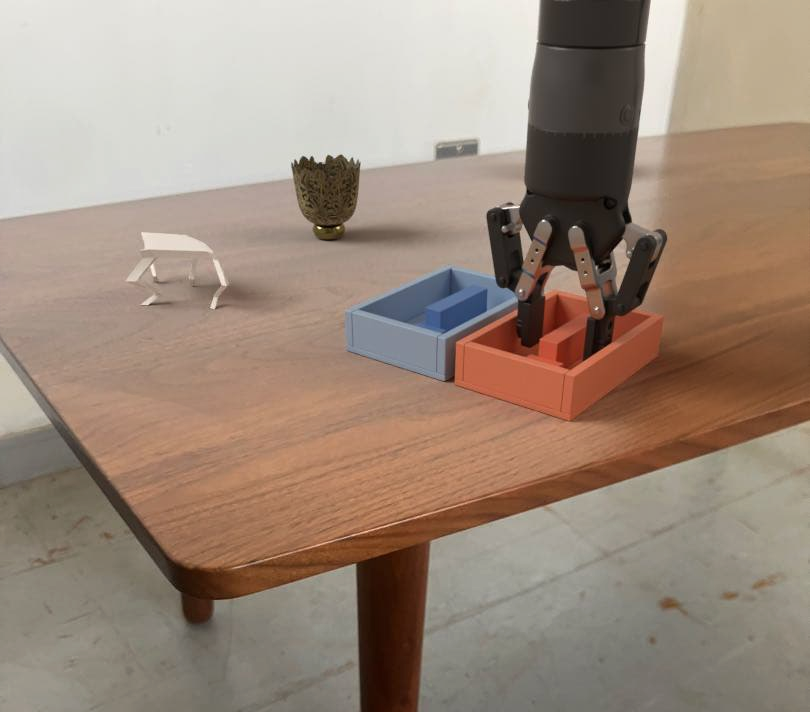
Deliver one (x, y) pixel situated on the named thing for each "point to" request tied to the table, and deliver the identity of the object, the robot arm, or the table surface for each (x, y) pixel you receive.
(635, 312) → the coral bin
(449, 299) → the blue stepped bar
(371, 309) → the blue bin
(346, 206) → the cup
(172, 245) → the origami figure
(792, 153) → the table surface
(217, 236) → the table surface
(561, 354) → the salmon l-shaped block
